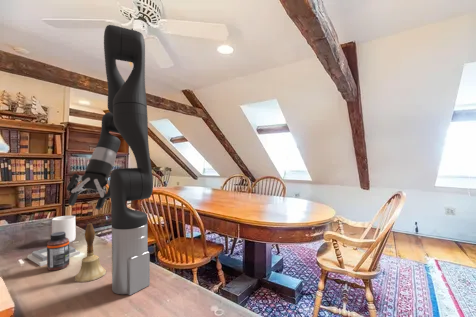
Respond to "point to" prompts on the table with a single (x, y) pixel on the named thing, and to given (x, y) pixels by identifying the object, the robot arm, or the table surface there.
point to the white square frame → (41, 255)
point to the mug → (65, 226)
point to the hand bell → (90, 260)
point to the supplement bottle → (58, 251)
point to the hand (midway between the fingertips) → (84, 207)
